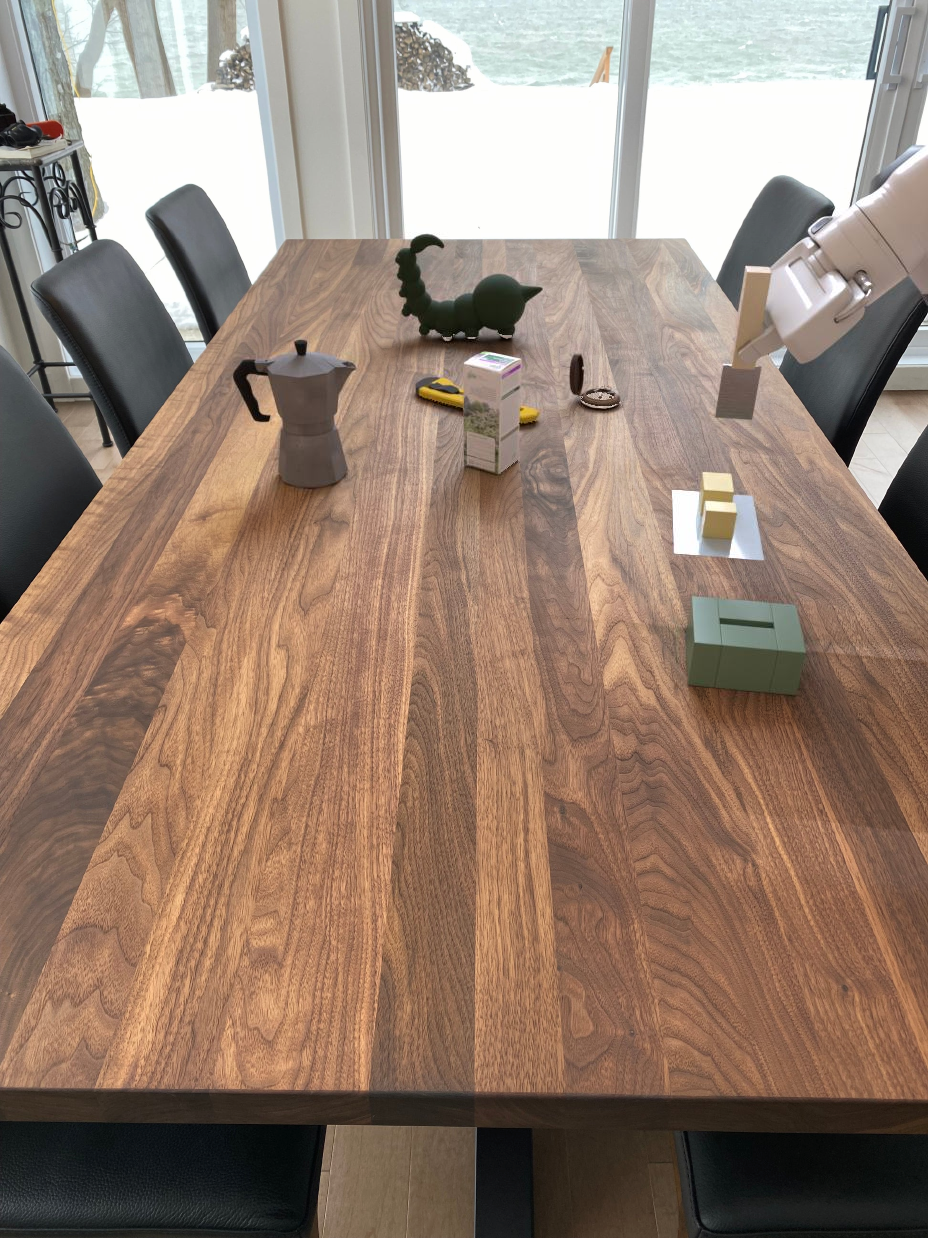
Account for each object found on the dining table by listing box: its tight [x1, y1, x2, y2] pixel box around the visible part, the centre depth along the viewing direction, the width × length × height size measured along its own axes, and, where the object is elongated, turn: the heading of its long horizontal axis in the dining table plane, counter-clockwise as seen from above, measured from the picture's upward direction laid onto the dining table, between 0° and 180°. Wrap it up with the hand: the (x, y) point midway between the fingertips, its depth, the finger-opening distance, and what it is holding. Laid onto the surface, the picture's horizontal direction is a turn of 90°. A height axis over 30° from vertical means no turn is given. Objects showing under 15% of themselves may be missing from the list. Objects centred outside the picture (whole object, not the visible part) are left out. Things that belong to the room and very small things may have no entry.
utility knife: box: [414, 376, 540, 425], centre depth 149 cm, size 7×22×2 cm, turn 55°
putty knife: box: [714, 265, 772, 421], centre depth 103 cm, size 4×2×16 cm, turn 81°
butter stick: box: [698, 471, 735, 516], centre depth 119 cm, size 4×5×4 cm
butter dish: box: [671, 489, 765, 562], centre depth 117 cm, size 10×16×1 cm, turn 171°
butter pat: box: [701, 501, 737, 539], centre depth 113 cm, size 4×2×4 cm
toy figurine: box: [394, 233, 544, 338], centre depth 170 cm, size 9×19×25 cm
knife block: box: [684, 595, 808, 696], centre depth 94 cm, size 8×10×5 cm
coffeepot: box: [232, 338, 357, 489], centre depth 125 cm, size 15×9×18 cm, turn 92°
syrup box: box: [462, 351, 522, 475], centre depth 128 cm, size 6×6×14 cm
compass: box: [568, 353, 621, 406], centre depth 149 cm, size 8×8×7 cm
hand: (739, 352), depth 104 cm, fingers closed on putty knife, 2 cm apart
